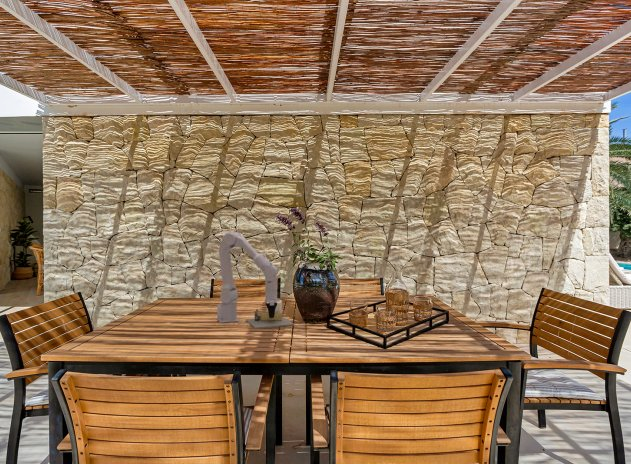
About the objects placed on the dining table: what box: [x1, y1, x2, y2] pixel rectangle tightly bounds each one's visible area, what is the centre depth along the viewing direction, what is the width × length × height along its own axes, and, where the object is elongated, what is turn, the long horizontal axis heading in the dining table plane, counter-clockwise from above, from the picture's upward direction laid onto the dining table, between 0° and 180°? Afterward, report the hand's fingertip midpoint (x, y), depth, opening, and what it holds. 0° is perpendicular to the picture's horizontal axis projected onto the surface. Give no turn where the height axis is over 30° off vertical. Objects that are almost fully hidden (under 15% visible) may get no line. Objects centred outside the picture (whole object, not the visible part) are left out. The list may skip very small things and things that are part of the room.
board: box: [245, 316, 295, 330], centre depth 226 cm, size 19×19×1 cm
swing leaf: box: [254, 310, 283, 320], centre depth 229 cm, size 3×13×4 cm, turn 95°
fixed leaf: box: [254, 309, 280, 321], centre depth 230 cm, size 13×3×5 cm, turn 112°
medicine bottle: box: [266, 291, 283, 314], centre depth 246 cm, size 7×7×12 cm
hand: (271, 317), depth 227 cm, fingers closed, pressing on swing leaf
